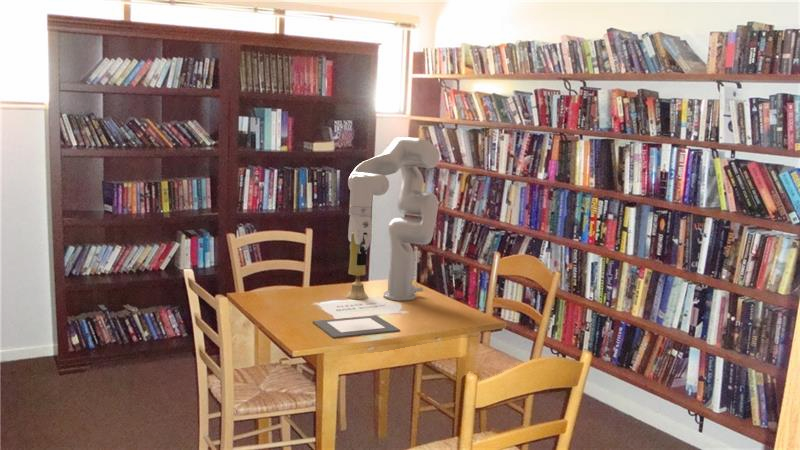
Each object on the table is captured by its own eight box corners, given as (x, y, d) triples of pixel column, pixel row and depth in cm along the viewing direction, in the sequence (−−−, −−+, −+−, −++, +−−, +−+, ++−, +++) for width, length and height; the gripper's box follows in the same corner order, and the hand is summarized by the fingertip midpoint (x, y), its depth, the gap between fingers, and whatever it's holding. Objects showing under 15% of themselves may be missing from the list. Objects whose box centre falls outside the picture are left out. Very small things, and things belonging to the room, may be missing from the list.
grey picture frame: (376, 316, 259) (376, 314, 259) (400, 331, 243) (400, 329, 243) (312, 322, 248) (312, 320, 247) (333, 338, 232) (333, 336, 232)
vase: (367, 272, 254) (369, 232, 252) (364, 276, 248) (366, 234, 246) (349, 271, 255) (351, 230, 253) (346, 274, 249) (348, 233, 247)
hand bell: (343, 295, 287) (345, 255, 284) (363, 293, 290) (364, 254, 288) (351, 300, 279) (352, 259, 277) (371, 299, 283) (373, 258, 280)
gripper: (381, 214, 243) (378, 268, 245) (360, 207, 258) (357, 258, 260) (360, 214, 239) (357, 268, 242) (340, 207, 255) (337, 258, 257)
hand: (357, 262), depth 251 cm, fingers closed on vase, 5 cm apart
